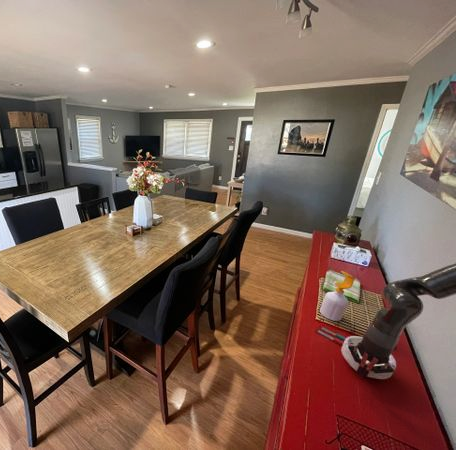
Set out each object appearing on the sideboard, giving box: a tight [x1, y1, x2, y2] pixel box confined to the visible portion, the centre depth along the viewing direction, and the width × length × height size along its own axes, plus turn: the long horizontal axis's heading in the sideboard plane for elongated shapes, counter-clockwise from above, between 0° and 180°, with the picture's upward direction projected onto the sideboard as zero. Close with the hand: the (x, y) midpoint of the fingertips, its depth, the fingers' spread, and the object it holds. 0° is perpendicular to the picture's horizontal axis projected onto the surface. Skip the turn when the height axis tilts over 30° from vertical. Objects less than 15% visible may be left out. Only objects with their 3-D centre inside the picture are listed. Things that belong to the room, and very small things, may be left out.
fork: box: [320, 326, 347, 342], centre depth 107 cm, size 9×2×1 cm, turn 43°
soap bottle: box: [319, 270, 356, 322], centre depth 114 cm, size 9×9×25 cm
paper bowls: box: [340, 335, 397, 380], centre depth 91 cm, size 15×15×8 cm
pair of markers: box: [317, 329, 344, 347], centre depth 105 cm, size 10×2×1 cm, turn 43°
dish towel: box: [322, 269, 361, 304], centre depth 139 cm, size 17×23×4 cm
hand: (361, 373), depth 86 cm, fingers closed
